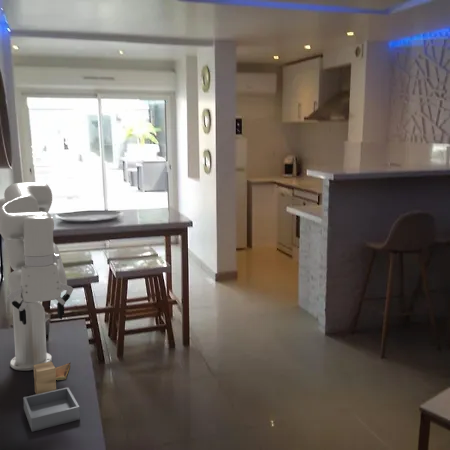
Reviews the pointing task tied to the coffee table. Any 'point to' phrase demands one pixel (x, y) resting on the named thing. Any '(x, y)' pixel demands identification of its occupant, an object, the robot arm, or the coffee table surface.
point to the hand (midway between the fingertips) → (42, 320)
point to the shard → (62, 371)
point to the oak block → (44, 377)
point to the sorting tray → (51, 409)
